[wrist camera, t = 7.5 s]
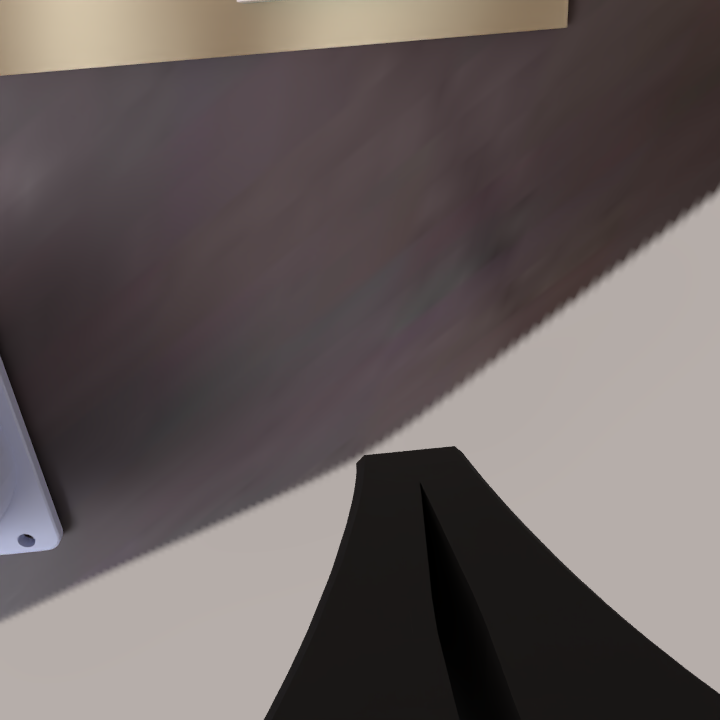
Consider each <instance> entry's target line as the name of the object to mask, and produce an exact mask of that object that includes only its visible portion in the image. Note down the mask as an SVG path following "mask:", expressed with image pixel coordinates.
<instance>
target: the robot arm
mask: <svg viewBox="0 0 720 720" xmlns="http://www.w3.org/2000/svg"><path fill="white" fill-rule="evenodd" d="M356 468H357V474H356V483H355V490H354V495H353V500H352V504H351V509H350V512H349V517H348V520H347V524H346V528H345V531H344V534H343V537H342V540H341V543H340V546H339V550H338V553H337V556H336V559H335V562H334V565H333V568H332V571H331V574H330V576H329V579H328V582H327V584H326V587H325V589H324V592H323V594H322V597H321V600H320V601H319V604H318V606H317V609H316V611H315V614H314V616H313V619H312V621H311V624H310V626H309V629H308V631H307V633H306V635H305V638H304V640H303V642H302V644H301V646H300V649H299V651H298V653H297V655H296V657H295V659H294V661H293V664H292V666H291V668H290V670H289V672H288V674H287V676H286V678H285V680H284V682H283V684H282V686H281V688H280V690H279V692H278V694H277V696H276V697H275V699H274V701H273V703H272V705H271V707H270V709H269V711H268V713H267V715H266V717H265V719H264V720H720V694H719V693H718V692H716V691H715V690H714V689H712V688H711V687H710V686H708V685H707V684H705V683H704V682H703V681H701V680H700V679H698V678H697V677H696V676H695V675H693V674H692V673H691V672H689V671H688V670H687V669H685V668H684V667H683V666H682V665H680V664H679V663H678V662H677V661H675V660H674V659H673V658H672V657H670V656H669V655H668V654H666V653H665V652H664V651H663V650H661V649H660V648H659V647H658V646H656V645H655V644H654V643H653V642H651V641H650V640H649V639H648V638H646V637H645V636H644V635H643V634H641V633H640V632H639V631H638V630H637V629H636V628H634V627H633V626H632V625H631V624H629V623H628V622H627V621H626V620H625V619H624V618H622V617H621V616H620V615H619V614H618V613H617V612H616V611H614V610H613V609H612V608H611V607H610V606H609V605H607V604H606V603H605V602H604V601H603V600H602V599H601V598H600V597H599V596H597V595H596V594H595V593H594V592H593V591H592V590H591V589H590V588H589V587H588V586H587V585H585V584H584V583H583V582H582V581H581V580H580V579H579V578H578V577H577V576H576V575H575V574H574V573H573V572H571V571H570V570H569V569H568V568H567V567H566V566H565V565H564V564H563V563H562V562H561V561H560V560H559V559H558V558H557V557H556V556H555V555H554V554H553V553H552V552H551V551H550V550H549V549H548V548H547V547H546V546H545V545H544V544H543V543H542V542H541V541H540V540H539V539H538V538H537V537H536V536H535V535H534V534H533V533H532V532H531V531H530V530H529V529H528V528H527V527H526V526H525V525H524V524H523V523H522V521H521V520H520V519H519V518H518V517H517V516H516V515H515V514H514V513H513V512H512V511H511V510H510V508H509V507H508V506H507V505H506V504H505V503H504V502H503V501H502V500H501V498H500V497H499V496H498V495H497V494H496V493H495V492H494V490H493V489H492V488H491V487H490V486H489V485H488V484H487V482H486V481H485V480H484V479H483V478H482V476H481V475H480V474H479V473H478V472H477V470H476V469H475V468H474V467H473V466H472V464H471V463H470V462H469V460H468V459H467V458H466V457H465V456H464V454H463V453H462V452H461V451H460V450H458V449H457V448H456V447H455V446H452V447H443V448H432V449H423V450H412V451H403V452H393V453H382V454H372V455H364V456H363V457H362V458H361V459H360V460H359V461H358V462H357V463H356ZM24 534H29V535H31V536H33V538H28V537H26V536H25V535H24ZM62 536H63V529H62V526H61V523H60V521H59V518H58V515H57V512H56V509H55V507H54V504H53V501H52V498H51V495H50V493H49V490H48V487H47V484H46V482H45V479H44V476H43V473H42V470H41V468H40V465H39V462H38V459H37V457H36V454H35V451H34V448H33V445H32V443H31V440H30V437H29V434H28V432H27V429H26V426H25V423H24V420H23V418H22V415H21V412H20V409H19V406H18V404H17V401H16V398H15V395H14V393H13V390H12V387H11V384H10V381H9V379H8V376H7V373H6V370H5V368H4V365H3V362H2V359H1V356H0V555H6V554H16V553H25V552H35V551H45V550H51V549H54V548H55V547H57V546H58V544H59V542H60V540H61V538H62Z"/></svg>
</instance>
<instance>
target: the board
mask: <svg viewBox="0 0 720 720" xmlns="http://www.w3.org/2000/svg"><path fill="white" fill-rule="evenodd" d="M568 2H569V0H282V1H270V2H258V3H246V4H243V3H239V2H237V0H0V76H2V75H14V74H26V73H37V72H49V71H61V70H73V69H85V68H96V67H108V66H120V65H132V64H144V63H155V62H167V61H179V60H191V59H202V58H214V57H226V56H238V55H250V54H261V53H273V52H285V51H297V50H309V49H320V48H332V47H344V46H356V45H368V44H379V43H391V42H403V41H415V40H426V39H438V38H450V37H462V36H474V35H485V34H497V33H509V32H521V31H533V30H544V29H556V28H567V19H568Z"/></svg>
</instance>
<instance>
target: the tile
mask: <svg viewBox="0 0 720 720" xmlns="http://www.w3.org/2000/svg"><path fill="white" fill-rule="evenodd" d="M270 1H282V0H237V2H239V3H243V4H246V3H258V2H270Z"/></svg>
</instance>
